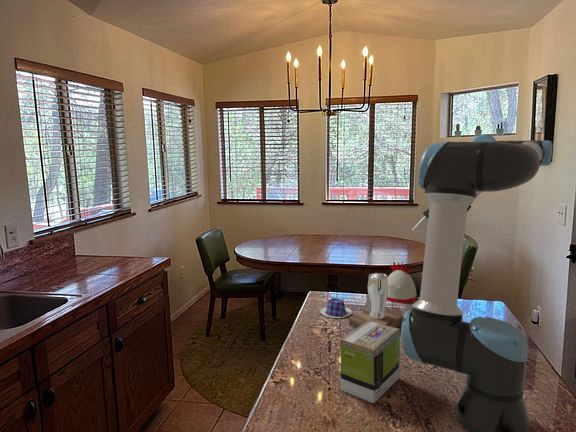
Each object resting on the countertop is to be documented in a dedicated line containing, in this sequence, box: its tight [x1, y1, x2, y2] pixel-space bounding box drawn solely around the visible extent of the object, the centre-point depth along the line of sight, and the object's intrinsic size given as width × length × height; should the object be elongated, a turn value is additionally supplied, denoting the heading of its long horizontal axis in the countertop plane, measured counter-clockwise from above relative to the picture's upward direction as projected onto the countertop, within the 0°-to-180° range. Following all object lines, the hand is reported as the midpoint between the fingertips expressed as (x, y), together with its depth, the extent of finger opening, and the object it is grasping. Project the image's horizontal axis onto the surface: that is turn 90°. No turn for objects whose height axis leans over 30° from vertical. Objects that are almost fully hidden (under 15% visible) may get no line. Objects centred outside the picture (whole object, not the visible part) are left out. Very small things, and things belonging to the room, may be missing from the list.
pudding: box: [319, 297, 353, 319], centre depth 161 cm, size 12×12×5 cm
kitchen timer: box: [386, 261, 417, 304], centre depth 176 cm, size 14×14×15 cm
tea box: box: [340, 321, 401, 404], centre depth 111 cm, size 15×10×15 cm, turn 141°
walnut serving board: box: [348, 308, 405, 329], centre depth 150 cm, size 16×12×3 cm
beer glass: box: [367, 272, 389, 320], centre depth 148 cm, size 7×7×15 cm
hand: (424, 236), depth 141 cm, fingers open, 13 cm apart
